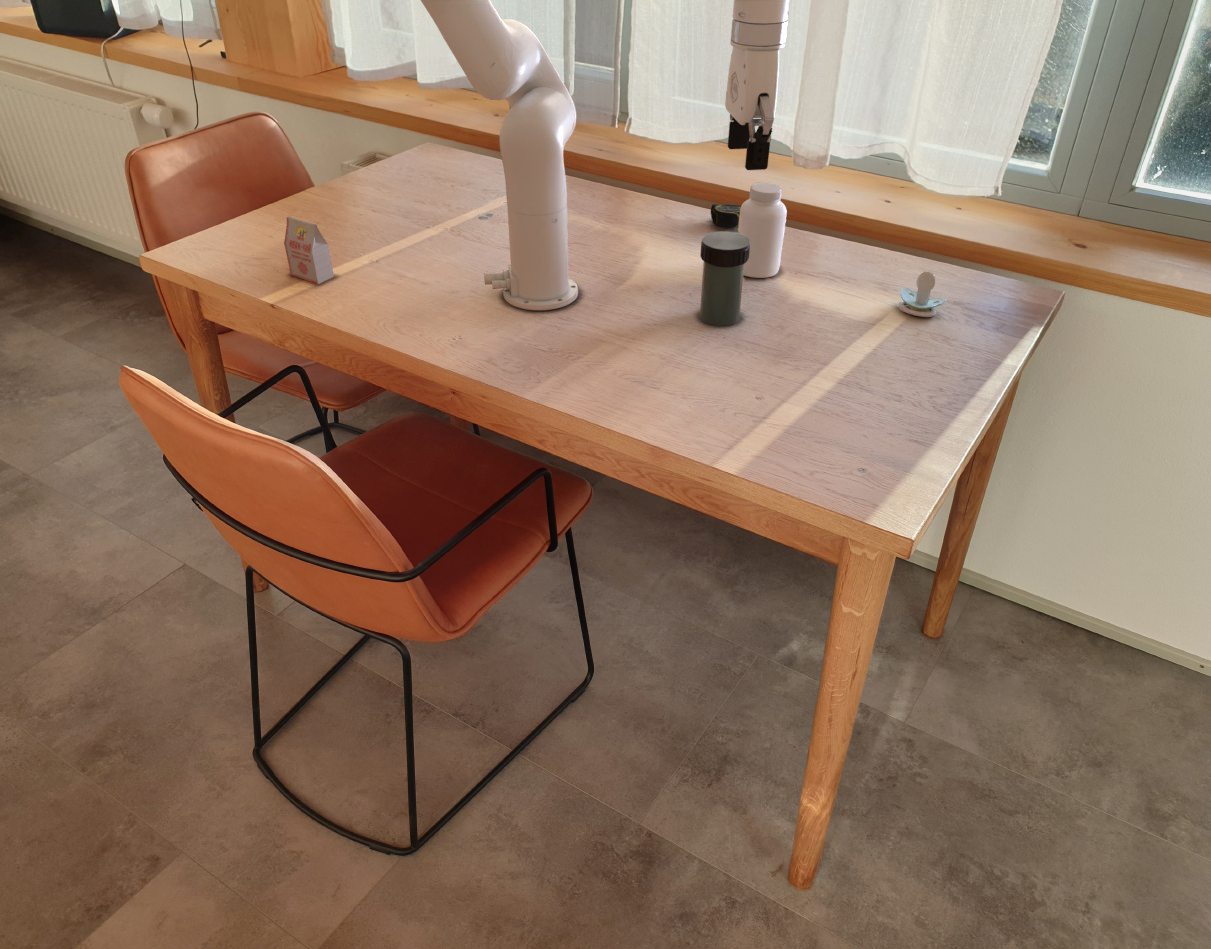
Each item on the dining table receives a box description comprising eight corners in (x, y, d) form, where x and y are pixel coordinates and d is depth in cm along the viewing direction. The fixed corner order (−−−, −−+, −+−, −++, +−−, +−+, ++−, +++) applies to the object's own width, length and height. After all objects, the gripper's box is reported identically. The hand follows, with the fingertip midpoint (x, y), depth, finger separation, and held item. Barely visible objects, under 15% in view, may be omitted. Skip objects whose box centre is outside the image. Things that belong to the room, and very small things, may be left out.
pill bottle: (778, 281, 163) (788, 196, 154) (732, 277, 164) (739, 193, 155) (780, 263, 169) (790, 180, 160) (736, 259, 170) (743, 177, 161)
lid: (706, 268, 142) (707, 251, 141) (695, 249, 148) (696, 232, 147) (754, 266, 143) (755, 248, 141) (741, 247, 149) (743, 230, 147)
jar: (704, 327, 149) (710, 253, 141) (695, 309, 154) (700, 237, 147) (743, 324, 149) (751, 251, 142) (733, 307, 155) (740, 235, 147)
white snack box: (306, 268, 166) (295, 213, 161) (334, 276, 164) (324, 221, 158) (290, 275, 164) (279, 220, 158) (318, 284, 161) (307, 228, 155)
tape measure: (744, 220, 186) (746, 201, 184) (746, 233, 180) (748, 214, 178) (709, 219, 186) (711, 200, 184) (711, 232, 181) (712, 213, 178)
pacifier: (931, 323, 150) (946, 309, 154) (939, 288, 146) (954, 274, 150) (889, 311, 154) (904, 297, 158) (895, 276, 150) (911, 262, 154)
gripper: (716, 21, 135) (708, 142, 145) (749, 48, 121) (737, 179, 131) (766, 20, 136) (755, 140, 146) (804, 46, 122) (789, 176, 132)
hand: (746, 158), depth 139 cm, fingers open, 9 cm apart
